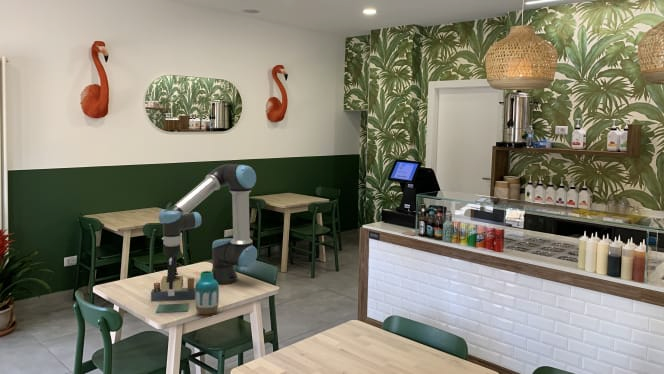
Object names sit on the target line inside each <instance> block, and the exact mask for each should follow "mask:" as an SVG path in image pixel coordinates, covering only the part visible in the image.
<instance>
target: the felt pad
mask: <svg viewBox="0 0 664 374" xmlns="http://www.w3.org/2000/svg"><path fill="white" fill-rule="evenodd" d="M189 308H190V303H189V302H186V303H185V302H184V303H182V302H180V303H161V304H158V306H157V308H156V310H155V314H162V313H164V314H165V313H187V312H188V311H189Z"/></svg>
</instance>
